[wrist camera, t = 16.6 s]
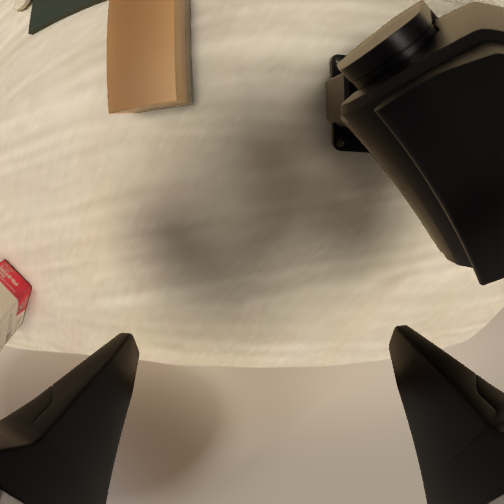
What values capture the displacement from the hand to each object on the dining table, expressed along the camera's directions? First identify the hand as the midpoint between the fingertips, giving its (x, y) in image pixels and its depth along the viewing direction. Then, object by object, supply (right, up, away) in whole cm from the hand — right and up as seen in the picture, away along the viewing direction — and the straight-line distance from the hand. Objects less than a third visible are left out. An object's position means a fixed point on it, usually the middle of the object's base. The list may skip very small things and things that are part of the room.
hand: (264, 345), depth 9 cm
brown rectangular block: (-6, +16, +6) cm, 18 cm away
